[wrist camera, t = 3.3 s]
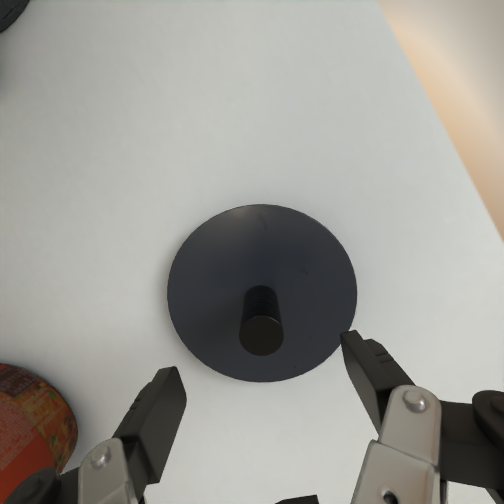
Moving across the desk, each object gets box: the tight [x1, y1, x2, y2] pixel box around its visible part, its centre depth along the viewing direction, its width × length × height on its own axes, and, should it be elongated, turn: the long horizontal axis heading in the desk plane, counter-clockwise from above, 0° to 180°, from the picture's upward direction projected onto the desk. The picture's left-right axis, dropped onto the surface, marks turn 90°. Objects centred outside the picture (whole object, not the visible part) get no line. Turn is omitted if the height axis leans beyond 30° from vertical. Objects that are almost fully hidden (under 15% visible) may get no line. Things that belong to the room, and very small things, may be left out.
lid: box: [167, 204, 357, 382], centre depth 17 cm, size 15×15×6 cm
